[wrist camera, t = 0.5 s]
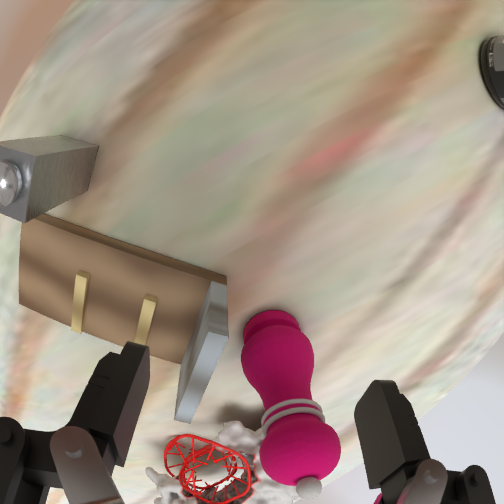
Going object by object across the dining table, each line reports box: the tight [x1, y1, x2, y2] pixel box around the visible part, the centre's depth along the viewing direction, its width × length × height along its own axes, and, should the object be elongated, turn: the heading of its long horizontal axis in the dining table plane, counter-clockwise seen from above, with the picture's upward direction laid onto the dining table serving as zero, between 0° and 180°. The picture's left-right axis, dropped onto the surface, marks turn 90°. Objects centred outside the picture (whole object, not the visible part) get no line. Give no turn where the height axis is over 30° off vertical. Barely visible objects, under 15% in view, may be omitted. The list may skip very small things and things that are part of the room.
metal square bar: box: [0, 135, 99, 223], centre depth 20 cm, size 4×4×12 cm
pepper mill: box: [241, 310, 341, 499], centre depth 24 cm, size 7×7×20 cm
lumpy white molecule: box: [146, 421, 303, 504], centre depth 34 cm, size 20×18×25 cm
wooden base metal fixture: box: [19, 213, 229, 424], centre depth 25 cm, size 11×22×10 cm, turn 69°
